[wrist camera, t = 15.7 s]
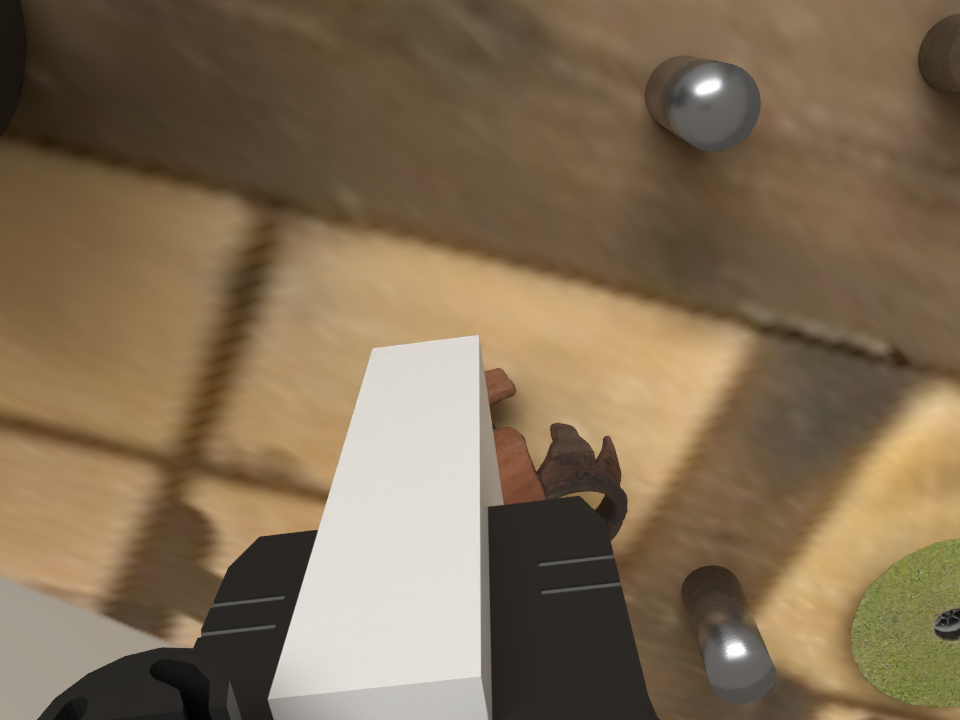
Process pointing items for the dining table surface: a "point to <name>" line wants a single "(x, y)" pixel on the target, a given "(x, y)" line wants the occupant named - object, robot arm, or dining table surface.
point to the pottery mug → (555, 464)
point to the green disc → (913, 628)
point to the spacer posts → (715, 127)
